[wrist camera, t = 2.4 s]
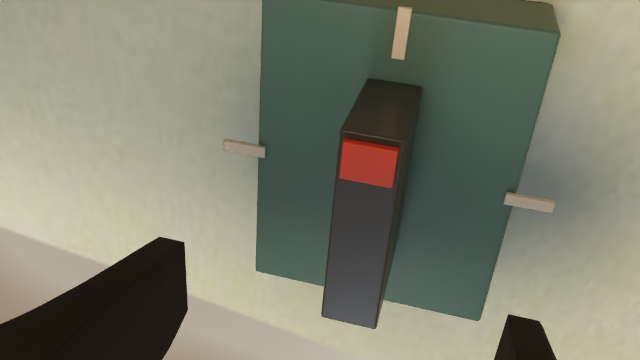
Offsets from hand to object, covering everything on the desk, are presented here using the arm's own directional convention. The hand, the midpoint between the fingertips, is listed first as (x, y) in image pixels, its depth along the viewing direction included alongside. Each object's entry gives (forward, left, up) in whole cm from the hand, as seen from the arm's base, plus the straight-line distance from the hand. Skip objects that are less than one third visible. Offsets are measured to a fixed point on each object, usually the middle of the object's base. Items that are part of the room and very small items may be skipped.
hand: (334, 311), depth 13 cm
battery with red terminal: (0, 0, -6) cm, 6 cm away
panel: (0, 0, -9) cm, 9 cm away
